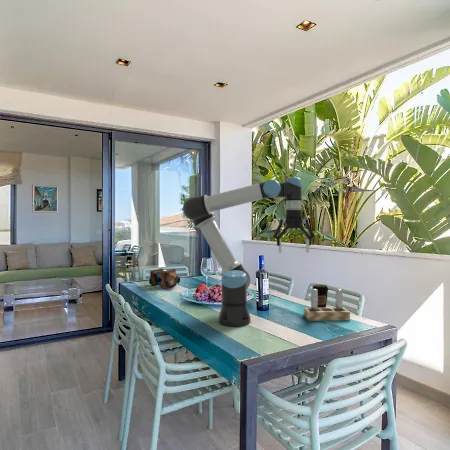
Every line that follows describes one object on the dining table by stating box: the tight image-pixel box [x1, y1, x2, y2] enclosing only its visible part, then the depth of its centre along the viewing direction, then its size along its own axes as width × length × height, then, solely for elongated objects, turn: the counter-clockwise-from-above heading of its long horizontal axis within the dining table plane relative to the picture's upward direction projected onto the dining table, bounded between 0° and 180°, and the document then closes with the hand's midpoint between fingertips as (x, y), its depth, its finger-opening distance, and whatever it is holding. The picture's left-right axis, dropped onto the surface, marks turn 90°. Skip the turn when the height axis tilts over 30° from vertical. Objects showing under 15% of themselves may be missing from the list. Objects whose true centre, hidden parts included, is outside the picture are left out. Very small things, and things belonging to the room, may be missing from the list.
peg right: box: [334, 288, 344, 311], centre depth 168 cm, size 3×3×14 cm
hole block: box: [303, 306, 351, 322], centre depth 168 cm, size 20×8×4 cm, turn 91°
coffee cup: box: [311, 283, 329, 308], centre depth 182 cm, size 9×8×13 cm
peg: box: [310, 288, 318, 311], centre depth 168 cm, size 3×3×14 cm
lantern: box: [148, 268, 181, 289], centre depth 244 cm, size 16×16×25 cm
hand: (293, 252), depth 171 cm, fingers open, 13 cm apart
